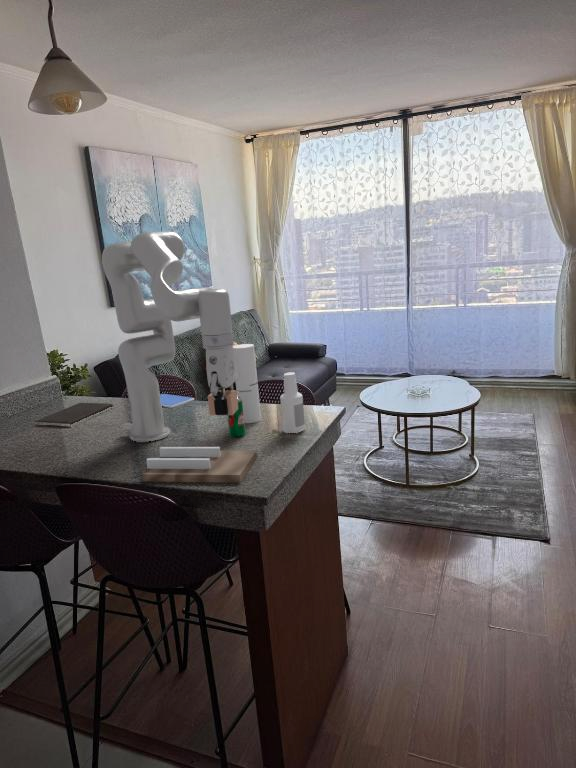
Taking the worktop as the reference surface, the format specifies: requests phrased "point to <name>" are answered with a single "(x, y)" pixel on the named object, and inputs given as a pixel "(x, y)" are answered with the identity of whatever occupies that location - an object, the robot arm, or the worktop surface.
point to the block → (231, 402)
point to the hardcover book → (75, 413)
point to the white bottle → (292, 406)
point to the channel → (184, 462)
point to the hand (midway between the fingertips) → (225, 410)
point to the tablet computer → (173, 400)
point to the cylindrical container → (247, 382)
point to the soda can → (237, 421)
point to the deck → (222, 469)
